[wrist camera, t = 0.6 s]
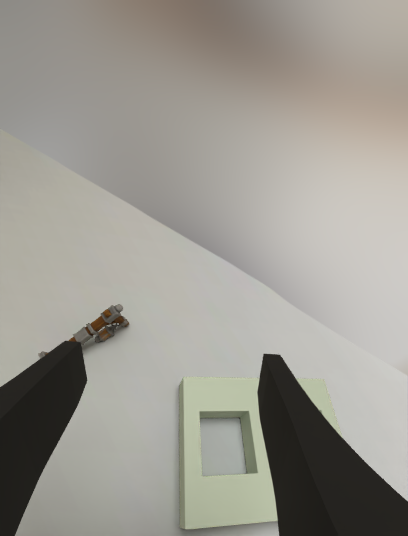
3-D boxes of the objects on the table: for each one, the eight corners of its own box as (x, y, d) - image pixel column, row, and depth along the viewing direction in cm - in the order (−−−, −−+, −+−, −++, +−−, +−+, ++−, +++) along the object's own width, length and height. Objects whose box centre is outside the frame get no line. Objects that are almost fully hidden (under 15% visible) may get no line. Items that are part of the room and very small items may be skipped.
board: (346, 511, 24) (366, 512, 22) (179, 527, 21) (185, 529, 19) (311, 386, 30) (323, 378, 28) (179, 385, 27) (183, 376, 25)
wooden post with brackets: (139, 322, 29) (123, 310, 25) (72, 374, 28) (44, 370, 24) (130, 310, 30) (113, 295, 26) (65, 360, 29) (36, 353, 25)
